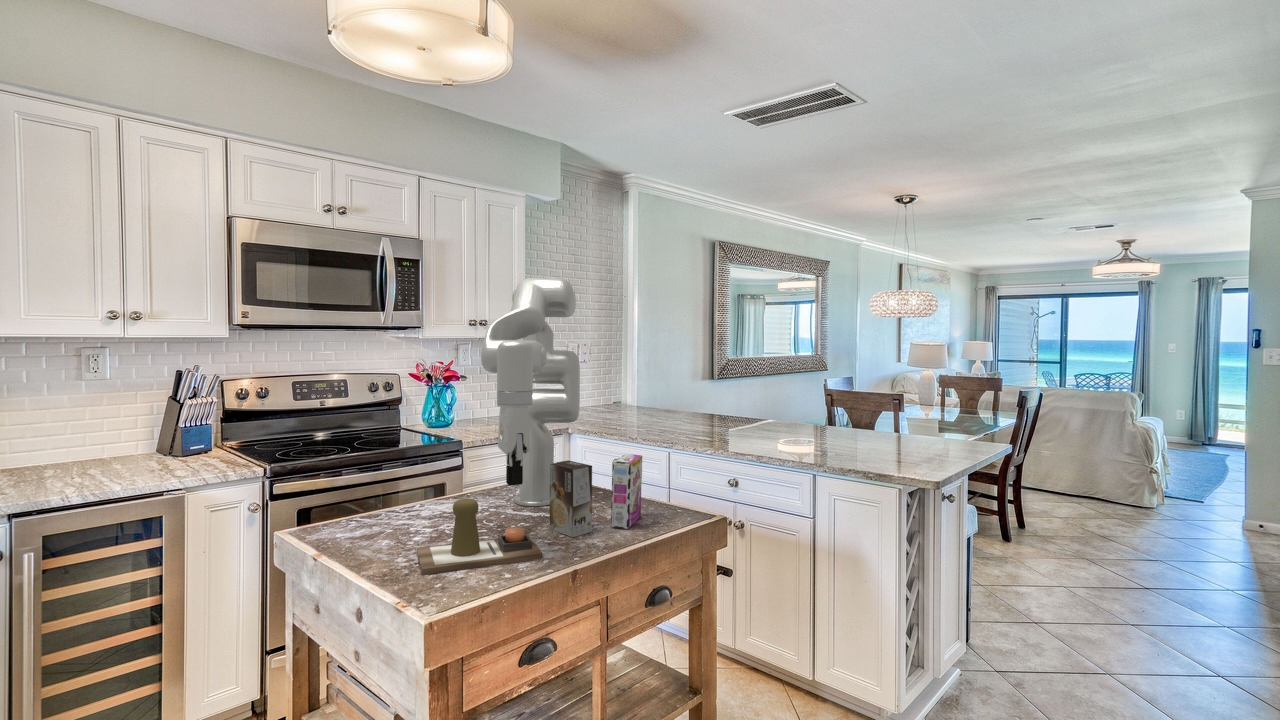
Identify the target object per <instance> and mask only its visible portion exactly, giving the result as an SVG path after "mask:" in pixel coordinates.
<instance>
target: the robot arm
mask: <svg viewBox="0 0 1280 720" xmlns="http://www.w3.org/2000/svg"><path fill="white" fill-rule="evenodd" d="M511 294H512V296H511V302H512V306H511V310H510V311H509V312H507V313H506V314H504V315H502V316H501V317H499V318H498V319H496V320H495V321H494V322H493V323H492V324H490V326H489V327H488V328H487V329H486V332H485V335H484V339H483V342H482V348H481V353H480V361H481V362H480V363H481V365H482V368H483V369H484V370H485V371H487V372H489V373H491V374H496V407H498V408H499V407H500V408H499V418H498V436H497V447H498V448H499V450H500V451H502V452H503V453H504V454H505V455H506V467H505V469H506V471H505V472H506V473H505V474H506V477H505V478H506V479H505V481H506V484H507V485H508V486H519V488H518V489H519V491H518V492H519V493H517V494H515V495H514V497H513V502H514V503H515V504H516V505H520V506H526V507H544V506H550V464H553V463H555V461H554V460H555V459H554V458H555V455H554V453H555V451H554V450H555V449H554V448H555V443H554V442H555V441H554V436H553V434H552V432H551V431H550V429H549V428H548V427H547V426H546V424H549V423H550V424H557V423H558V424H569V423H570V424H572V423H574V422H576V421H577V420H578V418H579V415H580V410H581V409H580V408H581V407H580V405H581V400H580V399H581V398H580V397H581V396H580V392H581V390H580V389H581V386H580V385H581V381H580V380H581V379H580V378H581V369H580V367H581V366H580V359H579V356H578V354H577V353H576V352H575V351H573V350H569V349H568V350H560V349H559V350H558V349H554V338H555V337H554V336H555V335H554V334H555V333H554V331H553V330H552V328H551V327H550V325H549V323H548V322H547V321H546V318H570V317H572V316H573V315H574V313H575V311H576V306H577V297H576V293H575V291H574V288H573V286H572V284H571V283H570V282H569V281H568V280H567V279H564V278H560V277H529V278H528V277H527V278H525V279H523V280H521V281H520V282H519V283H518V284H517V286H516V288H515V289H514V290H513V292H512V293H511ZM521 339H522V340H521ZM534 384H539V385H549V384H550V385H558V384H559V385H561V386H563V388H534V387H533V386H534Z"/></svg>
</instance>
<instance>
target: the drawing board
mask: <svg viewBox="0 0 1280 720" xmlns="http://www.w3.org/2000/svg"><path fill="white" fill-rule="evenodd" d="M479 544H480V552H479V553H478V554H475V555H472V556H465V557H459V556H454V555H452V554H451V547H452V543H447V544H438V545H430V546H428V545H427V546H421V547H416V549H417V550H416V554H417V558H418V563H419V567H420V571H421V575H422V576H425V575H426V576H427V575H434V574H440V573H447V572H448V573H449V572H455V571H461V570H463V571H464V570H469V569H470V570H471V569H477V568H485V567H492V566H493V567H494V566H499V565H500V566H501V565H508V564H514V563H515V564H516V563H521V562H528V561H529V562H530V561H536V560H537V559H538V560H543V559H544V552H543V551H542V550H541V549H540V548H539V547H538V545H537V544H536V542H535V541H534V540H533V539H532V538H531V536H530V535H529V534H527V533H525V532H524V540H523V541H520V542H507V541H506V540H505V535H498V536H497V537H496V538H489V539H479ZM538 560H537V561H538Z"/></svg>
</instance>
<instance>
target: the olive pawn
mask: <svg viewBox="0 0 1280 720" xmlns="http://www.w3.org/2000/svg"><path fill="white" fill-rule="evenodd" d="M478 512H479V503H478V501H477V500H476V499H474V498H469V497H468V498H461V499H457V500H456V501H455V502H453V505H452V513H453V515H454V517H455V518H454V526H453V533H452V540H451V544H452V547H451V554H452V555H454V556H459V557H465V556H472V555H475V554H478V553H479V552H480V544H479V540H480V539H479V538H480V537H479V530H478V524H477V522H478V521H477V514H478Z"/></svg>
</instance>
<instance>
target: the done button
mask: <svg viewBox="0 0 1280 720" xmlns="http://www.w3.org/2000/svg"><path fill="white" fill-rule="evenodd" d="M524 533H525V528H523V527H520V526H519V527H517V526H515V527H509V528H506V529H505V535H504V536H505V540H506V541H507V542H520V541H523V540H524Z"/></svg>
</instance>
